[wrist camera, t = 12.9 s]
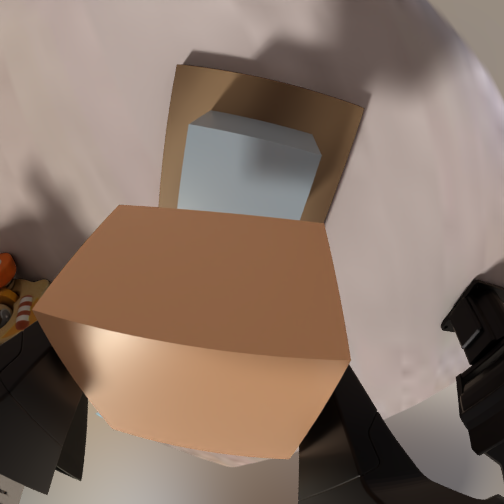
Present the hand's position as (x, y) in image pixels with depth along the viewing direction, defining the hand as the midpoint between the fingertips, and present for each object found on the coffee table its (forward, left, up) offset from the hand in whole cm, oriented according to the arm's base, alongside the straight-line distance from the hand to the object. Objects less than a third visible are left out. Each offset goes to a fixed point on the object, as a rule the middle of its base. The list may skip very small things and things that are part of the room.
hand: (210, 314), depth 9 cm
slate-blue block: (0, -1, -11) cm, 11 cm away
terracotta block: (0, 0, -1) cm, 1 cm away
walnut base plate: (0, -1, -12) cm, 12 cm away
